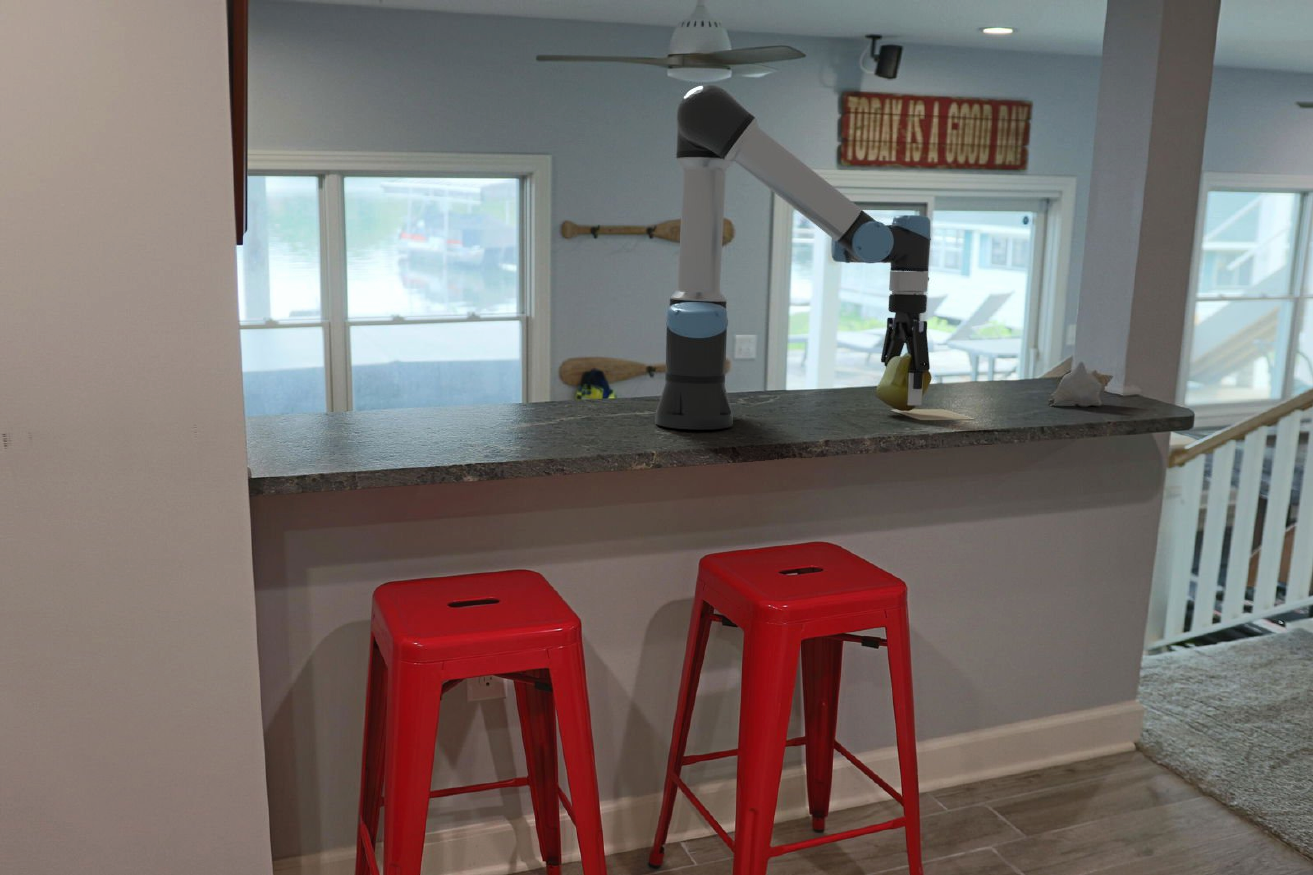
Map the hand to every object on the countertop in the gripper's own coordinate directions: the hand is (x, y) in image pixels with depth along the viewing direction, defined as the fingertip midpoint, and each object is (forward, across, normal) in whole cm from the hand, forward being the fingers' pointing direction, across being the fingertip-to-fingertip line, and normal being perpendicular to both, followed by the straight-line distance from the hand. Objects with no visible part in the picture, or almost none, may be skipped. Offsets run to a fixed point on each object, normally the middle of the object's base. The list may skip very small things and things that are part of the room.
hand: (902, 401), depth 227 cm
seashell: (+5, +9, -42) cm, 44 cm away
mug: (0, -1, +4) cm, 5 cm away
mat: (+3, 0, -7) cm, 7 cm away
